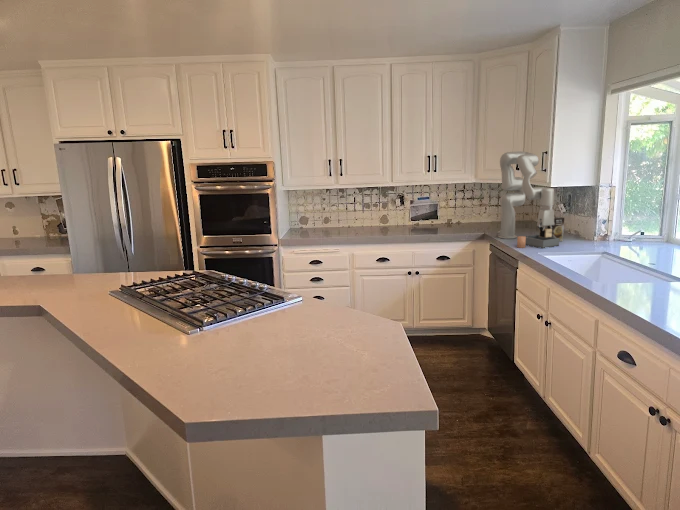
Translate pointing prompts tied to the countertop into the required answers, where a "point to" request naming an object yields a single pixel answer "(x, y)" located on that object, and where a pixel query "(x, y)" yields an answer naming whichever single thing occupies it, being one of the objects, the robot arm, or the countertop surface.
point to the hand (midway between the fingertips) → (545, 235)
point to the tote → (541, 241)
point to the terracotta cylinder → (521, 241)
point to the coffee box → (558, 228)
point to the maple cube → (547, 232)
